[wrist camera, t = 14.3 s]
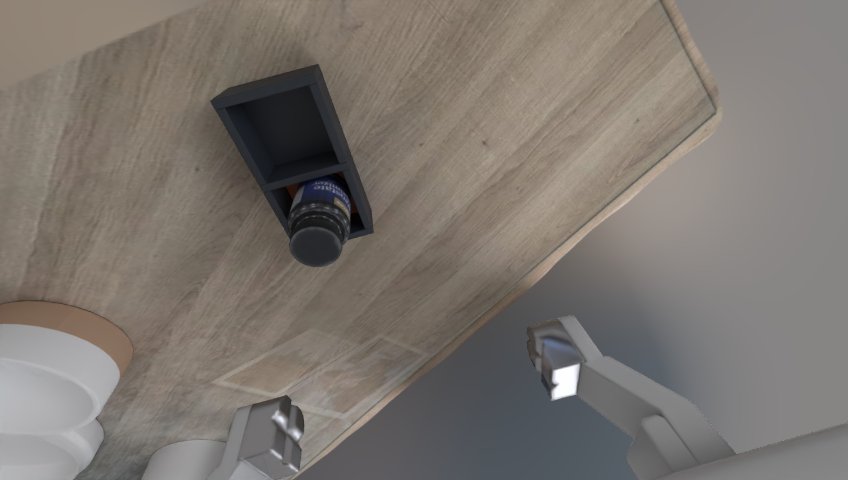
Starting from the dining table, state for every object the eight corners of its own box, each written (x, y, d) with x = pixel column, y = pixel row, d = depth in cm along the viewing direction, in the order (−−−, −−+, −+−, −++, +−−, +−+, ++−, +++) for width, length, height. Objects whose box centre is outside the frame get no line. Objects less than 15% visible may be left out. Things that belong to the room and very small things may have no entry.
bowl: (-68, 325, 41) (-149, 388, 35) (60, 283, 41) (3, 338, 34) (58, 391, 52) (15, 449, 45) (162, 358, 51) (133, 411, 45)
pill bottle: (360, 183, 39) (362, 236, 31) (337, 222, 42) (333, 281, 33) (309, 159, 37) (296, 209, 28) (288, 201, 39) (270, 260, 30)
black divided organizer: (227, 88, 32) (209, 100, 28) (318, 63, 32) (313, 73, 28) (303, 229, 43) (298, 253, 39) (371, 210, 43) (373, 233, 39)
